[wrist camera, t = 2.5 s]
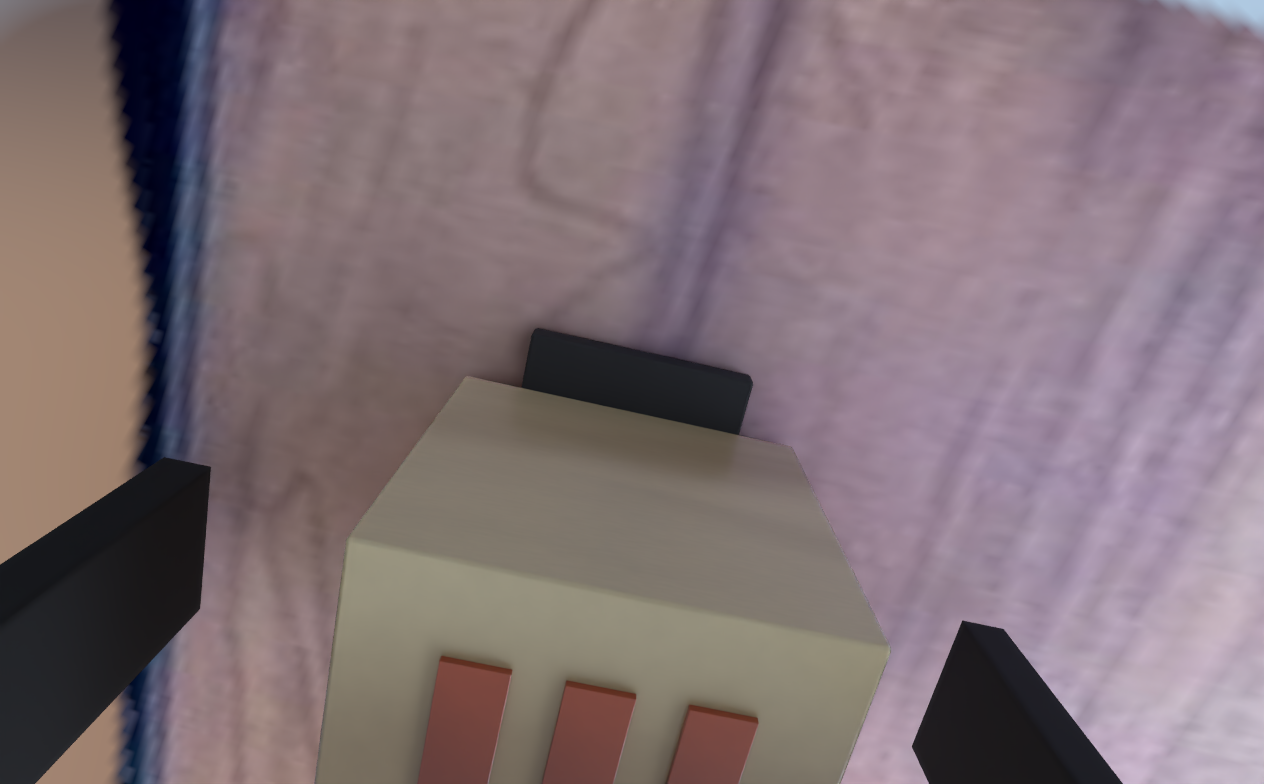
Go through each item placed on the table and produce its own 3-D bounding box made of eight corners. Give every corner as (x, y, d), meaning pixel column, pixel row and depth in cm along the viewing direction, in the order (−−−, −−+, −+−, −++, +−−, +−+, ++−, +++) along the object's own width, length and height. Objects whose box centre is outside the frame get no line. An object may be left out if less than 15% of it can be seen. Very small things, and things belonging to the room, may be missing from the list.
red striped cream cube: (465, 374, 14) (341, 542, 8) (792, 445, 14) (897, 654, 9) (417, 656, 16) (287, 958, 10) (709, 713, 16) (748, 1037, 10)
